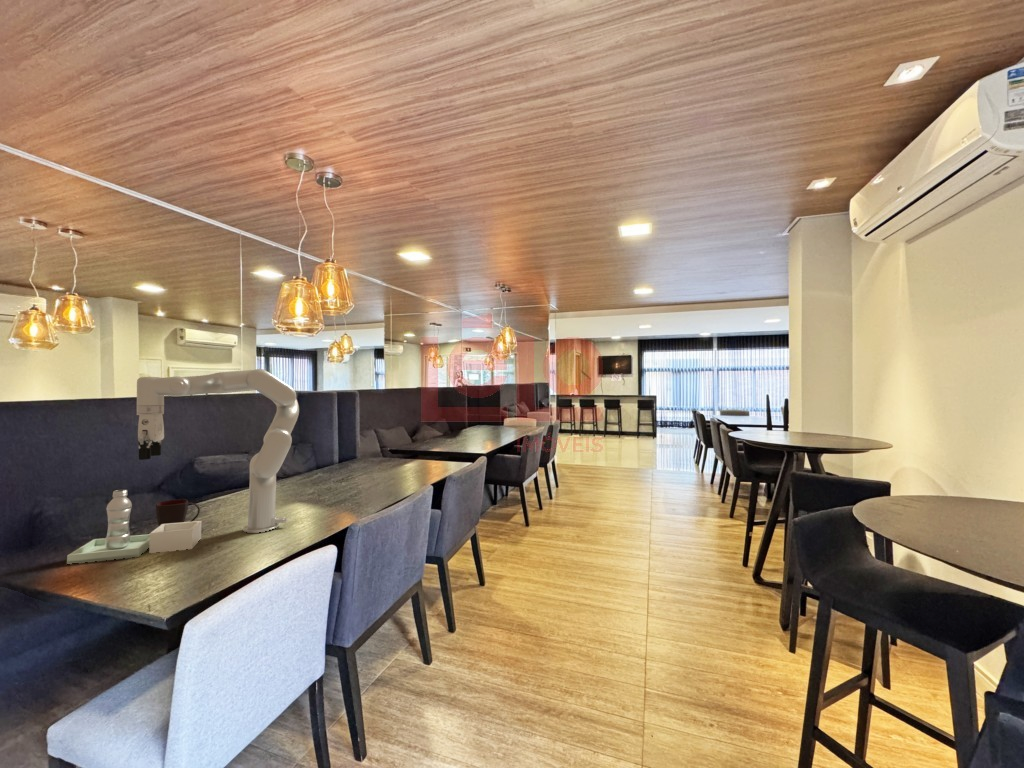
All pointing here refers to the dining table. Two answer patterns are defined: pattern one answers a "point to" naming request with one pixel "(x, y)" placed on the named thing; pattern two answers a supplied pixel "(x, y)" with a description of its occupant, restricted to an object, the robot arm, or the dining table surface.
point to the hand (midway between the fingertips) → (150, 457)
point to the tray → (109, 550)
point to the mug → (173, 511)
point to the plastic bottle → (118, 520)
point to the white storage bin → (175, 536)
